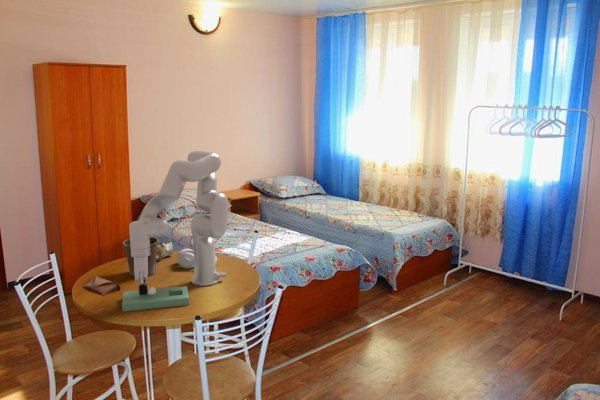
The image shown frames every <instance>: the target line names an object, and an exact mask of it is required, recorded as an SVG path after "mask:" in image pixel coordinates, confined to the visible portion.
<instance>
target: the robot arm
mask: <svg viewBox="0 0 600 400" xmlns="http://www.w3.org/2000/svg"><path fill="white" fill-rule="evenodd" d="M221 164H222V159H221V157H220V156H219V154H217V153H215V152H212V151H211V152H209V151H201V150H193V151H191V152H189V153H188V155H187V160H176V161H173V162H172V163H171V165H170V167H169V169H168V171H167V173H166V176H165V178H164V180H163V182H162V184H161V187H160V190H159V191H158V192H157V193H156V194H155V195H154V196H153V197H152V198H151V199H150V200H149V201H147V203H146V204H145V206H144V207H143V209H142V211H141V214H140V216H139V217H138V218H139V219H138V220H135V221H131V222H130V223H129V226H128V228H129V229H128V230H129V239H130V245H131V256H132V257H134V273H135V277H134V282H137V281H138V290H139V295H147V290H148V283H147V280H148V277H149V276H148V256H149V255H150V238H152V237H154V238H161V237H163V236H165V235H167V234H168V233H169V231H170V224H169V223H168V221H167V220H165V219H163V218H160V217H158V214H159V213H160V212H161V211H162V210H163V209H164V208H165V207H167V206H168V205H171V204H173V203H175V202H177V201H178V200H180V197H181V194H182V192H183V190H184V187H185V185H186V183H187V182H188V183H194V182H197V189H196V195H195V196H196V198H195V206H196V208H197V209H198V210H200V211H201V212H202V211H203V212H206V213H209V214H205V213H198V214H196V215H194V216H193V217H192V219H191V220H190V229H191V230H190V231H191V235H192V236H191V237H192V241H193V251H194V267H193V268H194V276H193V278H191V280H190V281H191V284H192V285H195V286H199V287H200V286H201V287H207V286H213V285H216V284H218V283H220V278H226V277H227V273H226V272H223V271H217V268H216V265H215V256H216V243H215V240H216V239H221V238H222V237H224V235H225V234H226V231H227V229H228V228H227V227H228V219H229V207H230V203H229V200H228V197H227V195H226V194H224V193H222V192H218V191H217V188H218V187H217V186H218V185H217V184H218V181H217V180H218V179H217V178H218V177H217V173H216V172H217V171H218V170H219V169H220V168H221Z"/></svg>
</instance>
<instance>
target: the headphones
mask: <svg viewBox="0 0 600 400" xmlns="http://www.w3.org/2000/svg"><path fill="white" fill-rule="evenodd" d="M176 257H177V263H178V265H179V266H180V267H181V268H183V269H193V268H194V249H191V248H183V249H181V250H180V251H178V253H177V256H176ZM217 262H218V257H217V255H215V266H216V265H217Z"/></svg>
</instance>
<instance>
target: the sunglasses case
mask: <svg viewBox="0 0 600 400" xmlns="http://www.w3.org/2000/svg"><path fill="white" fill-rule="evenodd" d="M82 288H84V289H87V290H90V291H92V292H95V293H97V294H99V295H101V296H108V295H111V294H114V293H116V291H117V292H120V291H121V286H120V284H118V283H116V282H113V281H111V280H108V279H105V278H102V277H100V276H98V275H95V276H94V277H93V278H92V279H91V280H89V281H88V282H87V283H86V284H84V285H83V286H82Z"/></svg>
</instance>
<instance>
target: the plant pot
mask: <svg viewBox="0 0 600 400" xmlns="http://www.w3.org/2000/svg"><path fill="white" fill-rule="evenodd" d="M159 243H160V242H159V238H158V237H152V238H150V255H149V256H148V276H147V277H150V276H153V275H155V274H156V273H157V260H156V254H157V246H158V245H159ZM122 245H123V246H124V251H125V253H126V259H127V267H128V274H129V275H130V276H131V277H133V278H135V273H134V257H132V256H131V245H130V238H127V239H125V240H124V241H123V242H122Z"/></svg>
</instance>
